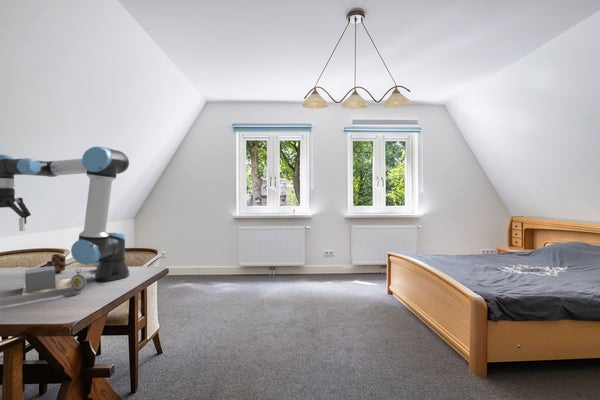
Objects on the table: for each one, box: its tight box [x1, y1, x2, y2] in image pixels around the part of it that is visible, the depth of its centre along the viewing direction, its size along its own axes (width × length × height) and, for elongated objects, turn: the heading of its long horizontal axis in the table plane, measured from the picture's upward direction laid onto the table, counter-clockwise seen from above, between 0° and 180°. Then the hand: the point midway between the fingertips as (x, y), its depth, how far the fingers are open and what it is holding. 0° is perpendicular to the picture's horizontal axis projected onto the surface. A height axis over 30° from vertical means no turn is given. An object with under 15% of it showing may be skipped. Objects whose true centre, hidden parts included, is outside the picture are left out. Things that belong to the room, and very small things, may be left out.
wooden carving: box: [46, 253, 68, 273], centre depth 169 cm, size 16×5×10 cm, turn 68°
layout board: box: [21, 277, 87, 296], centre depth 140 cm, size 22×19×1 cm
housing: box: [24, 266, 56, 292], centre depth 137 cm, size 10×10×8 cm
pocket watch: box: [61, 268, 87, 297], centre depth 131 cm, size 8×8×10 cm
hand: (5, 232), depth 144 cm, fingers open, 13 cm apart
